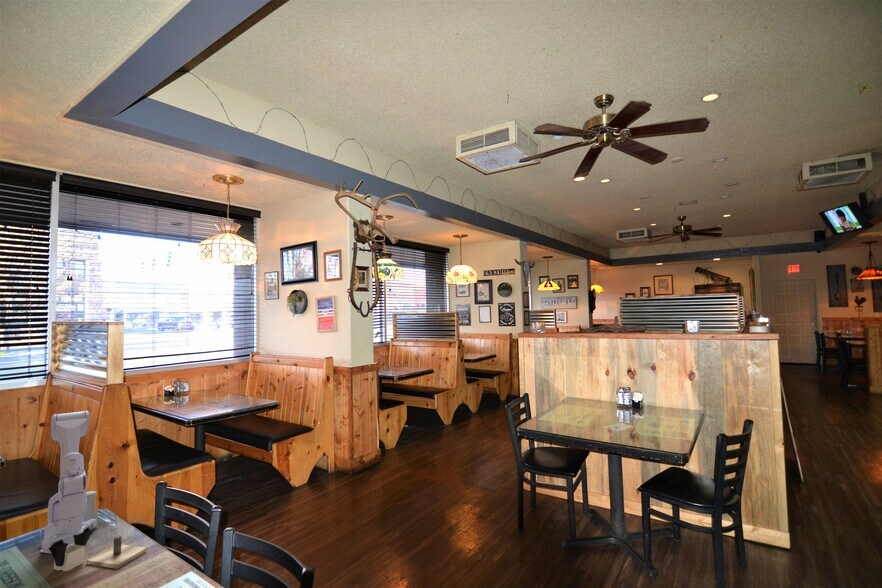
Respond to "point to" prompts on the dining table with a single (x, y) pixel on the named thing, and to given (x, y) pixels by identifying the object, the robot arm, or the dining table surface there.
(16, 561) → the dining table surface
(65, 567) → the hollow square tube
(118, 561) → the roll holder
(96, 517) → the salt shaker
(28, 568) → the dining table surface
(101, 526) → the dining table surface
